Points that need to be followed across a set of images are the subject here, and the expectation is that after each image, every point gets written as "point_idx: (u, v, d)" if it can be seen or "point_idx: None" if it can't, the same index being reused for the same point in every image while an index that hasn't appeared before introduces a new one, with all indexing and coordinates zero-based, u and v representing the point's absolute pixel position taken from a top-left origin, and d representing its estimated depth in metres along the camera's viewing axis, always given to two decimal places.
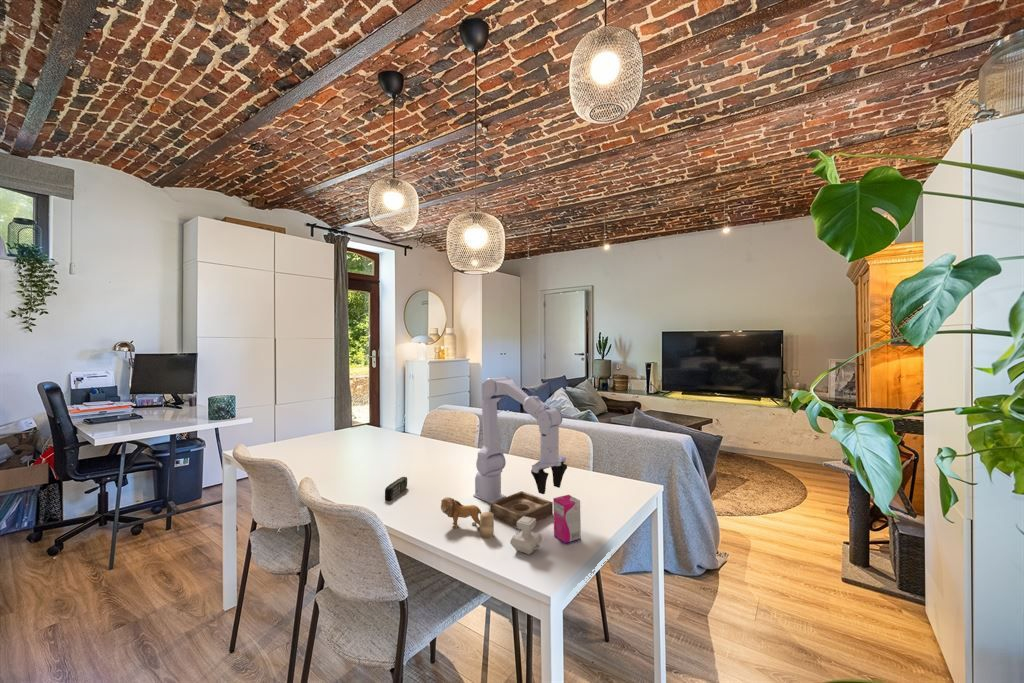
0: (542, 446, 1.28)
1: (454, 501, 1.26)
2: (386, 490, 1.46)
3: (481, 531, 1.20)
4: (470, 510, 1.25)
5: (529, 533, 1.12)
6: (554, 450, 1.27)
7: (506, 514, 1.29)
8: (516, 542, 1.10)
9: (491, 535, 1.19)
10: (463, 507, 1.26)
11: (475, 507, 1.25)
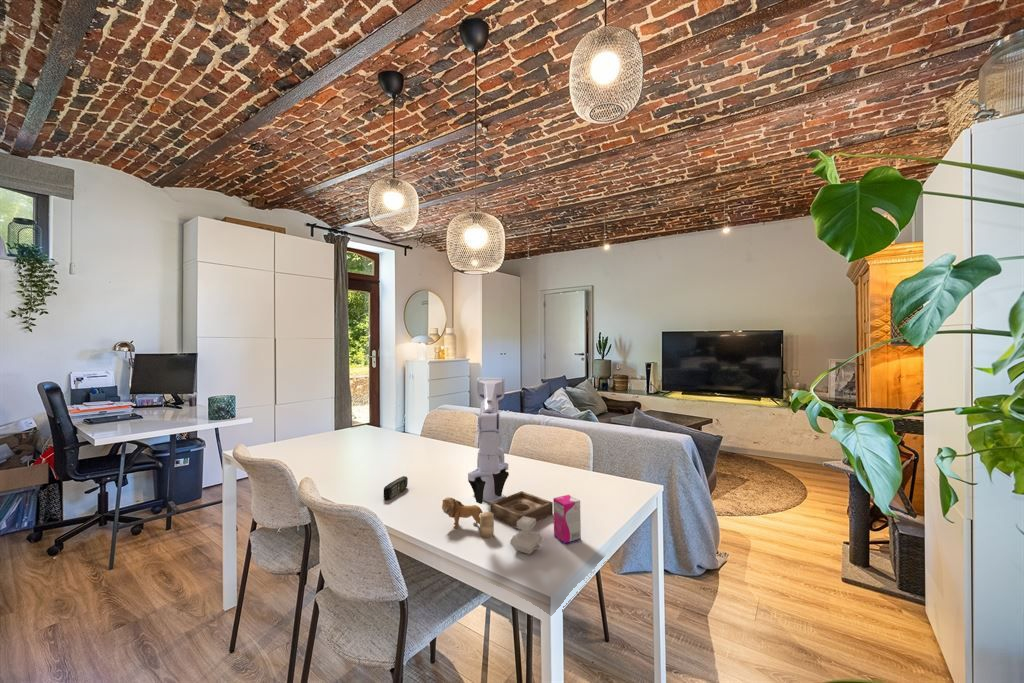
0: None
1: (455, 501, 1.26)
2: (385, 489, 1.46)
3: (481, 531, 1.20)
4: (472, 510, 1.24)
5: (529, 533, 1.12)
6: (492, 457, 1.20)
7: (506, 514, 1.29)
8: (516, 542, 1.10)
9: (491, 535, 1.19)
10: (464, 507, 1.26)
11: (476, 507, 1.25)
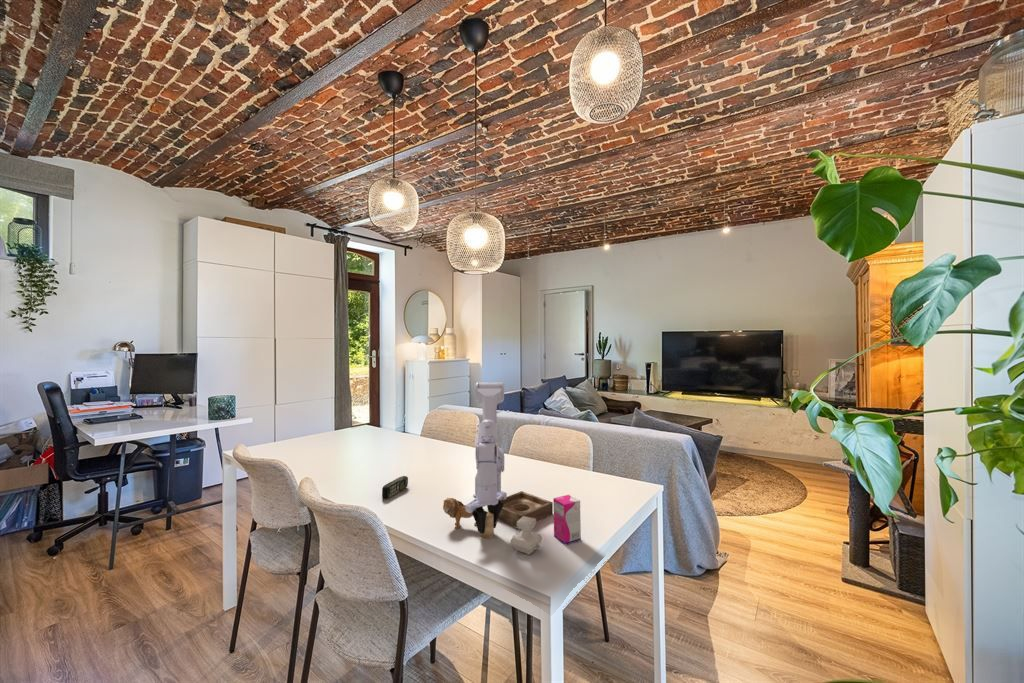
0: None
1: (456, 501, 1.26)
2: (383, 489, 1.47)
3: None
4: None
5: (529, 533, 1.12)
6: (490, 488, 1.18)
7: (506, 514, 1.29)
8: (516, 542, 1.10)
9: (491, 535, 1.19)
10: (465, 507, 1.26)
11: None
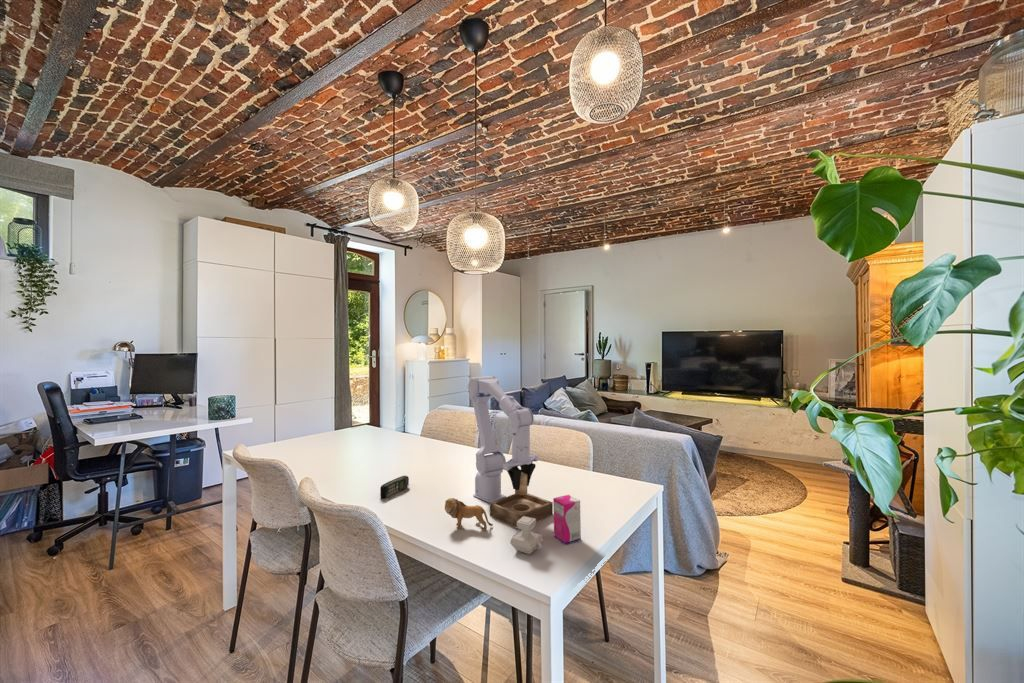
0: (513, 445, 1.33)
1: (458, 502, 1.26)
2: (381, 488, 1.48)
3: None
4: (475, 511, 1.24)
5: (529, 533, 1.12)
6: (525, 449, 1.31)
7: (506, 514, 1.29)
8: (516, 542, 1.10)
9: (525, 492, 1.33)
10: (467, 507, 1.25)
11: (479, 507, 1.25)
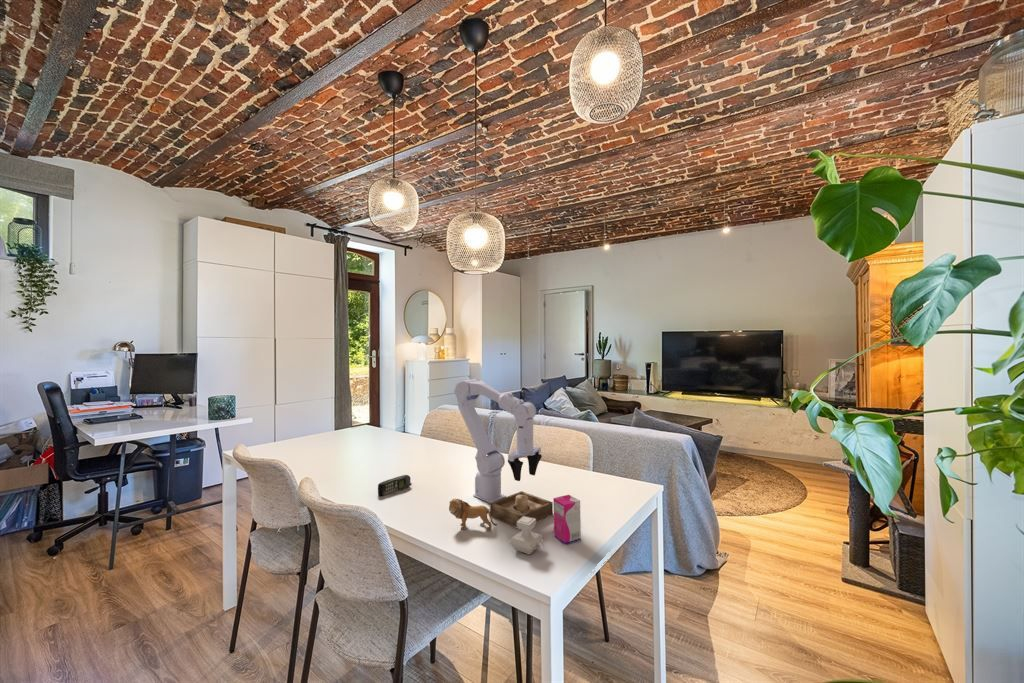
0: (519, 437, 1.39)
1: (462, 502, 1.25)
2: (378, 485, 1.50)
3: None
4: (479, 511, 1.24)
5: (529, 533, 1.12)
6: (529, 441, 1.39)
7: (506, 514, 1.29)
8: (516, 542, 1.10)
9: None
10: (472, 508, 1.25)
11: (484, 507, 1.25)
